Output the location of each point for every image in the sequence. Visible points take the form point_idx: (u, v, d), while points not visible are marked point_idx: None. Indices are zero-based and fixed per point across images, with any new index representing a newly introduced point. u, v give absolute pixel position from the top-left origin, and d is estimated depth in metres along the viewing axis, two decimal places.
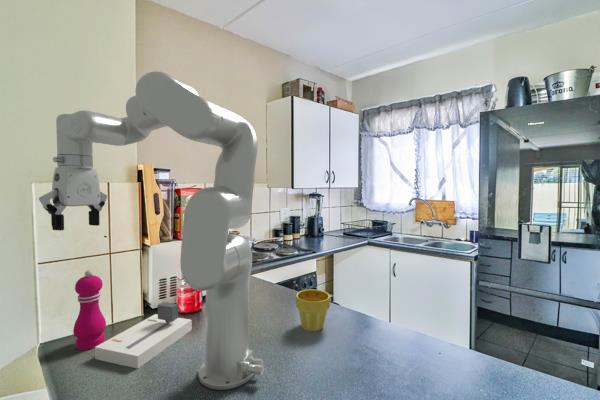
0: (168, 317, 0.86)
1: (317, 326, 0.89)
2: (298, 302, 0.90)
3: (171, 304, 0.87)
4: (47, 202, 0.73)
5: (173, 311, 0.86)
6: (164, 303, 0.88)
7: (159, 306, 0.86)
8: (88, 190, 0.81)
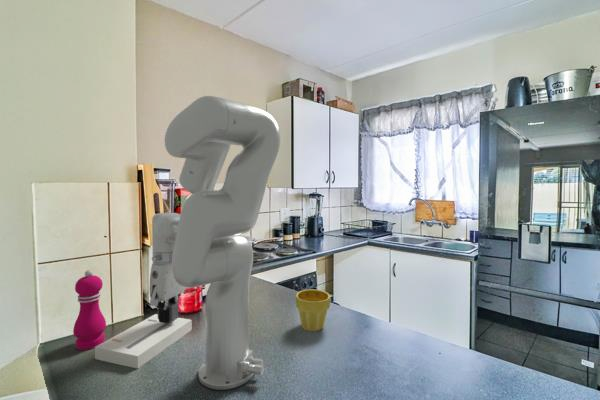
0: None
1: (317, 326, 0.89)
2: (298, 302, 0.90)
3: (171, 304, 0.87)
4: (157, 303, 0.82)
5: (173, 311, 0.86)
6: None
7: None
8: None
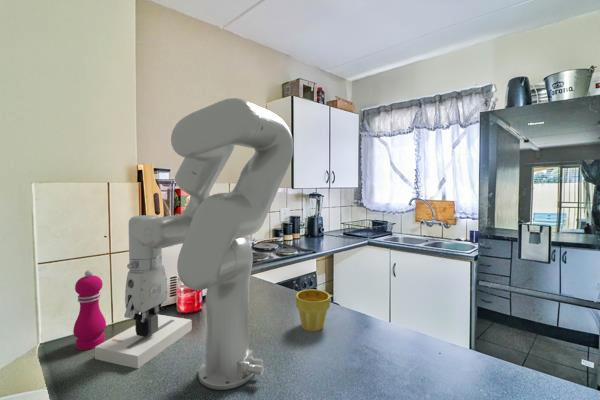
0: None
1: (317, 326, 0.89)
2: (298, 302, 0.90)
3: (150, 315, 0.80)
4: (133, 315, 0.75)
5: (152, 323, 0.78)
6: None
7: None
8: (158, 290, 0.79)
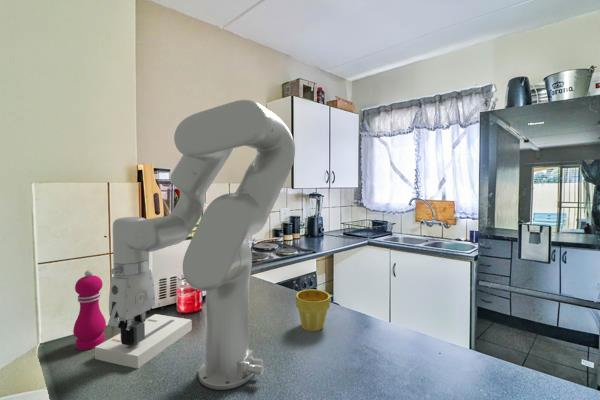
0: None
1: (317, 326, 0.89)
2: (298, 302, 0.90)
3: (136, 323, 0.75)
4: (117, 323, 0.70)
5: (138, 331, 0.74)
6: None
7: None
8: (144, 296, 0.75)
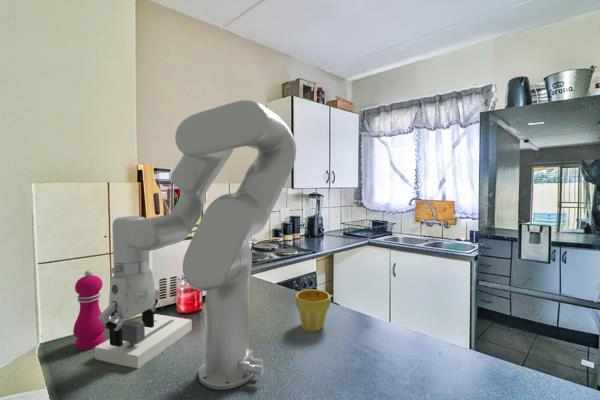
0: (132, 338, 0.74)
1: (317, 326, 0.89)
2: (298, 302, 0.90)
3: (136, 323, 0.75)
4: (107, 320, 0.67)
5: (138, 331, 0.74)
6: (128, 322, 0.76)
7: (122, 325, 0.75)
8: (145, 295, 0.75)
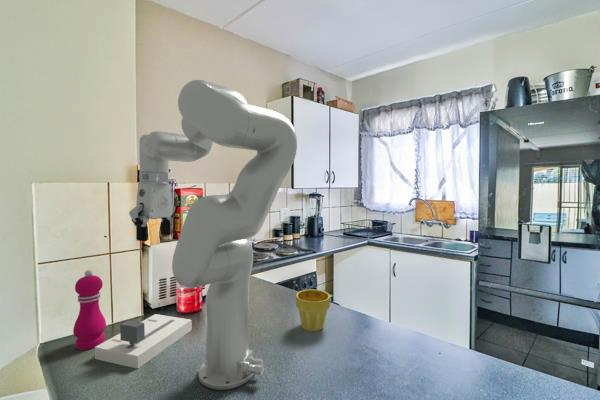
0: (132, 338, 0.74)
1: (317, 326, 0.89)
2: (298, 302, 0.90)
3: (136, 323, 0.75)
4: (136, 215, 0.81)
5: (138, 331, 0.74)
6: (128, 322, 0.76)
7: (122, 325, 0.75)
8: (165, 203, 0.88)
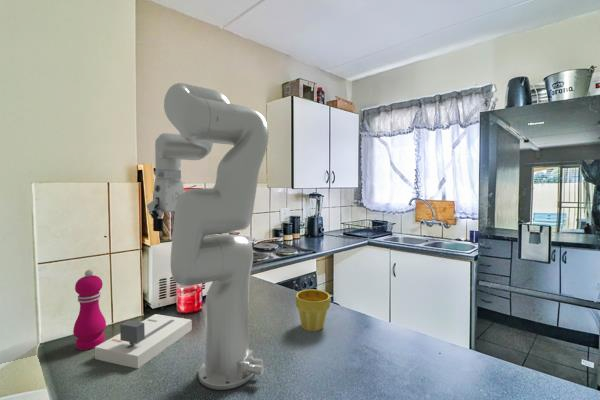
0: (132, 338, 0.74)
1: (317, 326, 0.89)
2: (298, 302, 0.90)
3: (136, 323, 0.75)
4: (152, 208, 0.91)
5: (138, 331, 0.74)
6: (128, 322, 0.76)
7: (122, 325, 0.75)
8: (178, 198, 0.99)
